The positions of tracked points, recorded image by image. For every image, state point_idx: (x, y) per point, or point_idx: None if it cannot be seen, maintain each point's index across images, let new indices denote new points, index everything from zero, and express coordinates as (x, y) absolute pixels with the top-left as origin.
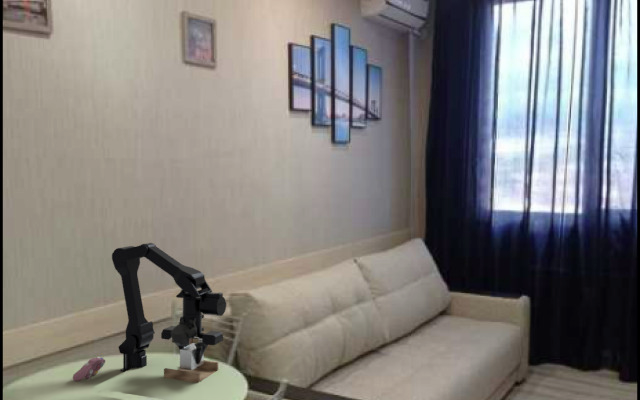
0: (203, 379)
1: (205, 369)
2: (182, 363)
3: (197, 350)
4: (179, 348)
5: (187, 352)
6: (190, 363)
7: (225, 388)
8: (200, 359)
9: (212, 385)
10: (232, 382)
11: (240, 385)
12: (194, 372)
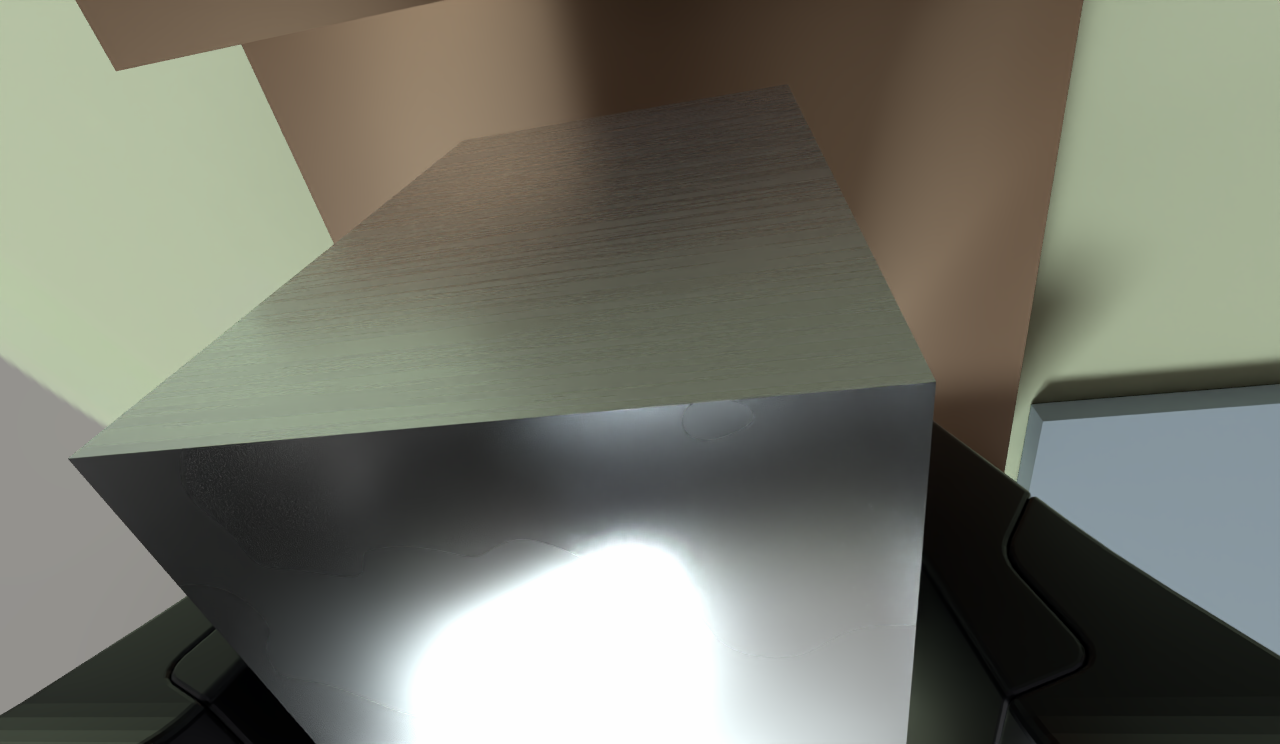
0: (299, 166)
1: None
2: (704, 133)
3: (213, 648)
4: (1172, 607)
5: (376, 358)
6: (421, 191)
7: (3, 183)
8: None
9: (219, 182)
10: (161, 382)
11: (15, 351)
12: (254, 39)
